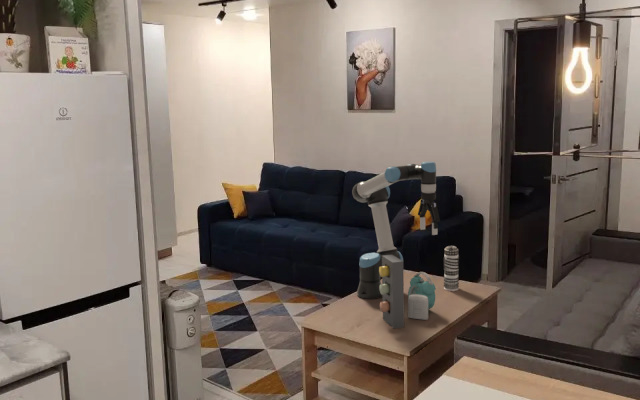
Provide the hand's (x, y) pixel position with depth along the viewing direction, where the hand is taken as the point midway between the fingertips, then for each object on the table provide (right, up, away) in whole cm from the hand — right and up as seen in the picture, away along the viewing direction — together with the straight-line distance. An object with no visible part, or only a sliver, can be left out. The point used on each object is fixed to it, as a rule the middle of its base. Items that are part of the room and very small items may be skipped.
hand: (428, 232), depth 314 cm
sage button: (-25, -29, -19) cm, 43 cm away
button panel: (-20, -44, -15) cm, 51 cm away
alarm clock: (-3, -41, +2) cm, 41 cm away
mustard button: (-25, -20, -20) cm, 38 cm away
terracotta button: (-24, -38, -17) cm, 49 cm away
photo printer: (-7, -43, -10) cm, 45 cm away
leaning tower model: (+20, -35, +35) cm, 53 cm away
